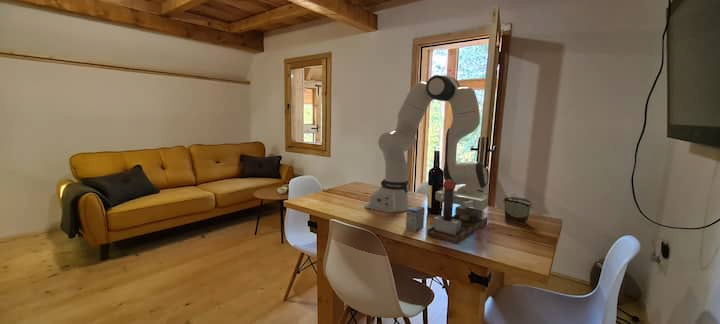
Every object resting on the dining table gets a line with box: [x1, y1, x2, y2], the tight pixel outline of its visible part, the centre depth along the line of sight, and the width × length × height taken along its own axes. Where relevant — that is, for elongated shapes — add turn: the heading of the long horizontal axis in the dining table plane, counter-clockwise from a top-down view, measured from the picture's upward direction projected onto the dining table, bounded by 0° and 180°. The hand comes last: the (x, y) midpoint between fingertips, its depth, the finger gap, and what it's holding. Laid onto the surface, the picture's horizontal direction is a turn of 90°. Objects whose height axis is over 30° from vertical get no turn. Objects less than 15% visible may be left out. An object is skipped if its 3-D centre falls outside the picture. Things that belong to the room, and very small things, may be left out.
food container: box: [502, 196, 533, 226], centre depth 138 cm, size 12×6×10 cm, turn 34°
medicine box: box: [405, 204, 425, 232], centre depth 127 cm, size 8×4×9 cm, turn 145°
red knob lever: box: [433, 180, 461, 236], centre depth 117 cm, size 4×9×20 cm, turn 48°
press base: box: [426, 205, 488, 246], centre depth 126 cm, size 30×12×7 cm, turn 138°
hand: (452, 202), depth 119 cm, fingers open, 8 cm apart
